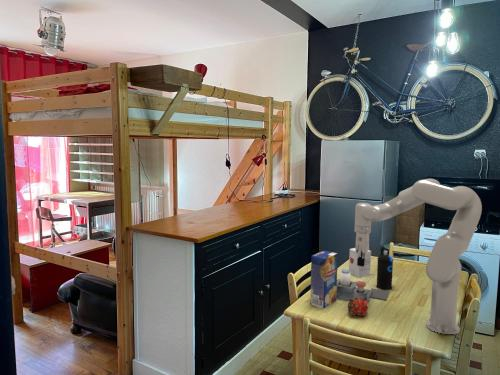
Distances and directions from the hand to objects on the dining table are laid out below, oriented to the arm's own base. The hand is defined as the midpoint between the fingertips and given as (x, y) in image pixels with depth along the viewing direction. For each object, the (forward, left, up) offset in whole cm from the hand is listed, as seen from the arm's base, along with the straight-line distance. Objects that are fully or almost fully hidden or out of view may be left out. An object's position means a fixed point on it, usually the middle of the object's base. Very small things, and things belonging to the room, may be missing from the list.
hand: (360, 265), depth 181 cm
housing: (+4, +5, -18) cm, 19 cm away
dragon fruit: (-15, -2, -18) cm, 24 cm away
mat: (+12, -7, -18) cm, 23 cm away
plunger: (0, 0, -13) cm, 13 cm away
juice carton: (-10, +15, -18) cm, 26 cm away
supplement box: (+39, +8, -18) cm, 44 cm away
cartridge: (+6, +9, -16) cm, 19 cm away
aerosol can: (+24, -8, -18) cm, 31 cm away
